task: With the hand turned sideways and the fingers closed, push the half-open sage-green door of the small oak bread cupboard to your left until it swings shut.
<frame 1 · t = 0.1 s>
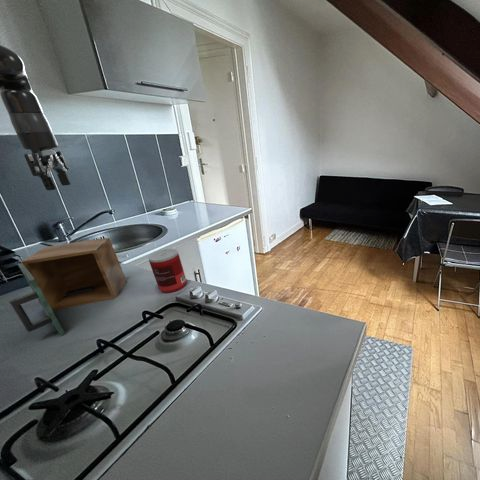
hand: (59, 187, 81), 30 cm above the worktop, tool pointing down, fingers open, 8 cm apart
cupboard door: (29, 302, 62), point 8 cm above the worktop, hinge at 55.0°
cupboard: (91, 295, 78), on the worktop
canned food: (173, 286, 80), on the worktop
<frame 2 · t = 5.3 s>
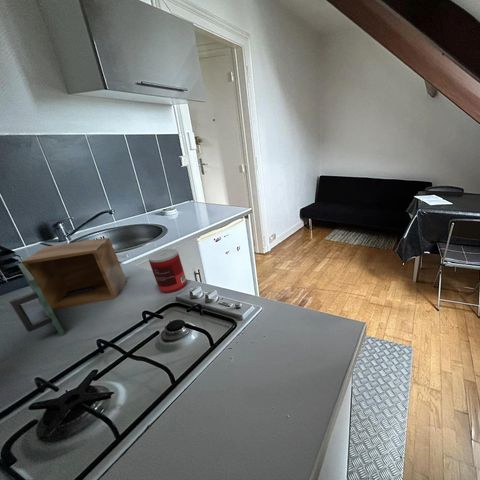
nothing on the worktop moved.
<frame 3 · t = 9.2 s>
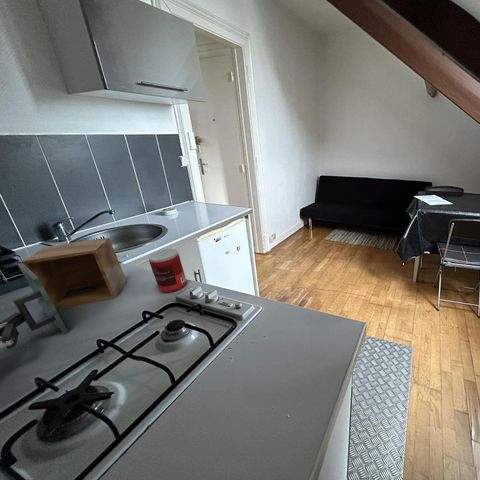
hand: (22, 315, 59), 7 cm above the worktop, tool horizontal, fingers closed
cupboard door: (31, 302, 62), point 8 cm above the worktop, hinge at 52.8°
everything else where it was.
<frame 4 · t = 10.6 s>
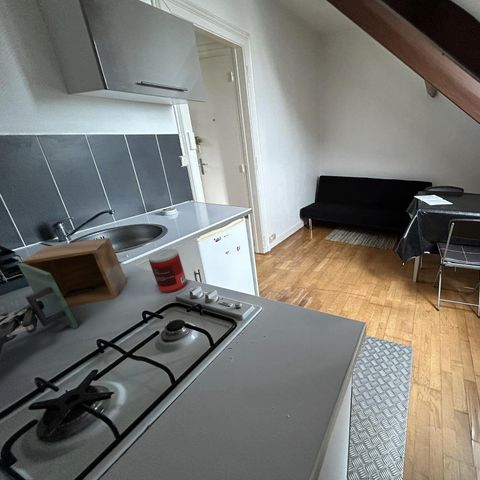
hand: (39, 304, 63), 7 cm above the worktop, tool horizontal, fingers closed
cupboard door: (37, 300, 63), point 8 cm above the worktop, hinge at 45.2°, touching gripper
everything else where it was.
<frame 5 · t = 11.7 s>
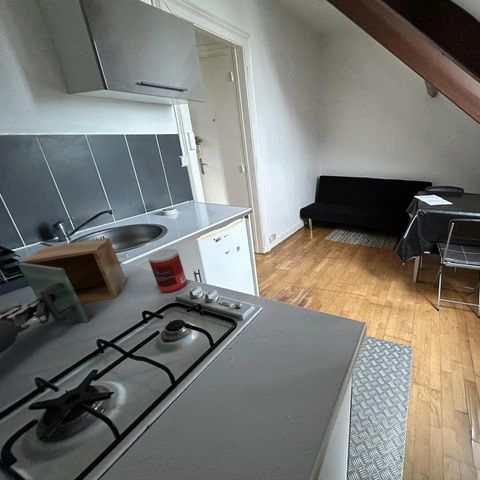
hand: (51, 297, 65), 7 cm above the worktop, tool horizontal, fingers closed
cupboard door: (44, 297, 64), point 8 cm above the worktop, hinge at 36.5°, touching gripper
everything else where it was.
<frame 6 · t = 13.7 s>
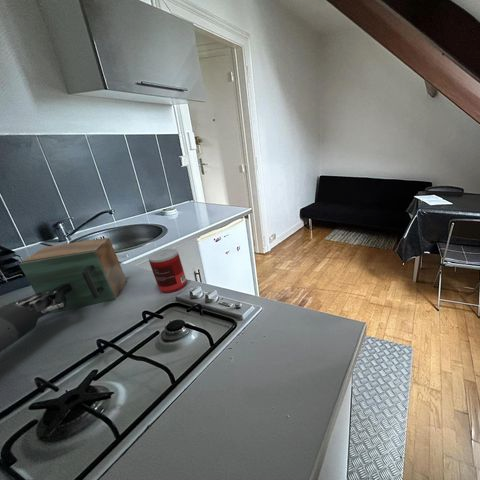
hand: (68, 286, 70), 7 cm above the worktop, tool horizontal, fingers closed
cupboard door: (67, 286, 68), point 8 cm above the worktop, hinge at -0.6°, touching gripper
everything else where it was.
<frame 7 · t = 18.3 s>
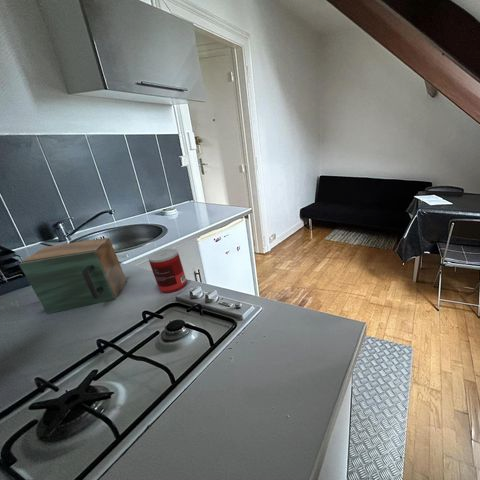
cupboard door: (67, 286, 68), point 8 cm above the worktop, hinge at -0.3°
everything else where it was.
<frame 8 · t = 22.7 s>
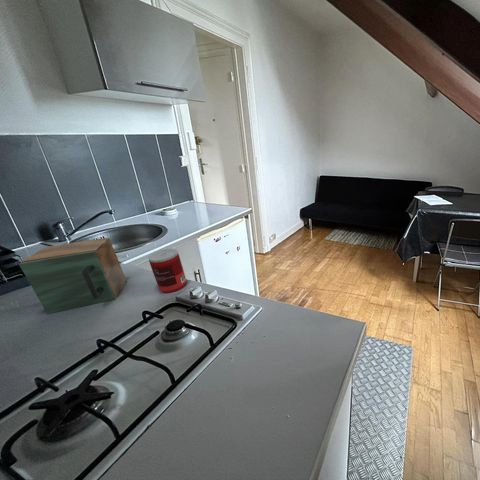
nothing on the worktop moved.
at the end: cupboard door at +0° (first picture: +55°); canned food moved 0.2 cm from its start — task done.
